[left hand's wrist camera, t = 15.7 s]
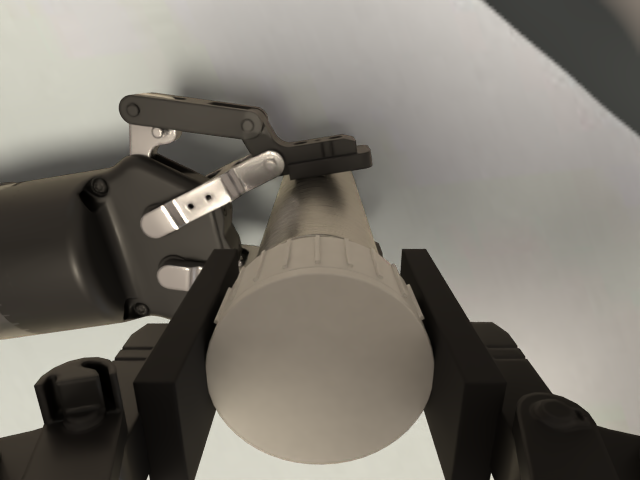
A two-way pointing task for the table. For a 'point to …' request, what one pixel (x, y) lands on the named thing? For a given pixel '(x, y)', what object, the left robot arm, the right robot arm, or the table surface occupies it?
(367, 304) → the lid
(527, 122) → the table surface
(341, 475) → the table surface
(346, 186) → the silver metal cylinder
